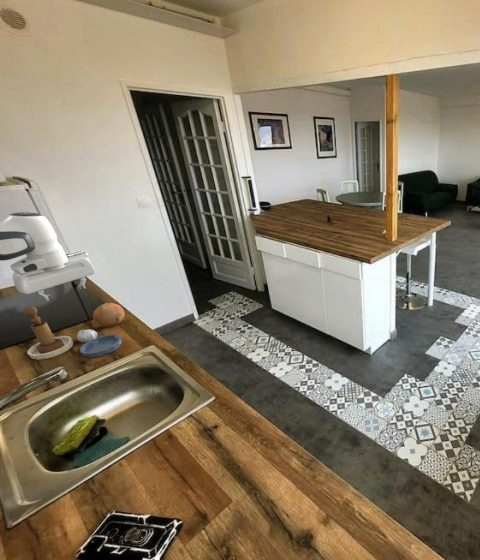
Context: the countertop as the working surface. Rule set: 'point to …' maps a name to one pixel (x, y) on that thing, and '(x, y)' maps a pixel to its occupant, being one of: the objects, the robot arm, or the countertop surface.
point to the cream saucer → (36, 355)
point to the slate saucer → (101, 346)
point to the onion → (108, 314)
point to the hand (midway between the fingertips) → (66, 294)
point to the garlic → (86, 335)
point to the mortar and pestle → (43, 333)
